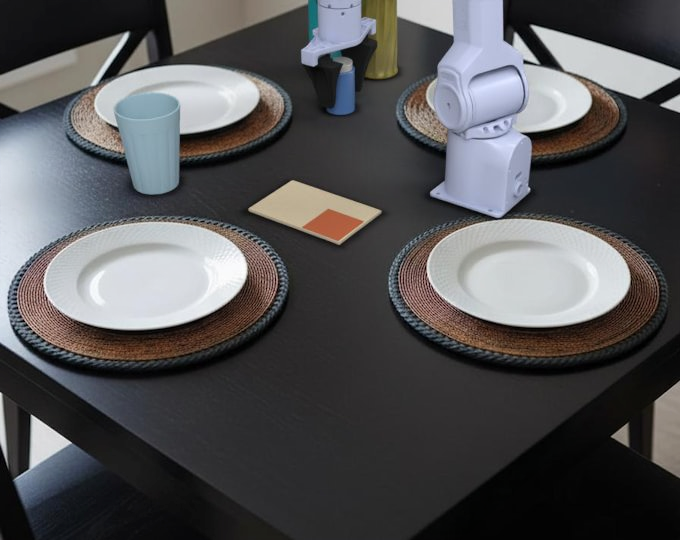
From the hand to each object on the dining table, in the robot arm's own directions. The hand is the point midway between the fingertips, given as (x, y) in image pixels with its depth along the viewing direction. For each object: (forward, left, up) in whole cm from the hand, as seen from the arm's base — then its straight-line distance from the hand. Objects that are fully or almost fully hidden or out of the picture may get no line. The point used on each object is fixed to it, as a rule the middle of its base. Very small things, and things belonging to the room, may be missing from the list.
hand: (340, 98), depth 144 cm
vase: (+3, -14, -2) cm, 14 cm away
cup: (+6, +30, -2) cm, 31 cm away
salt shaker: (0, 0, -2) cm, 2 cm away
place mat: (-14, +25, -2) cm, 29 cm away
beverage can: (+9, -10, -2) cm, 13 cm away
